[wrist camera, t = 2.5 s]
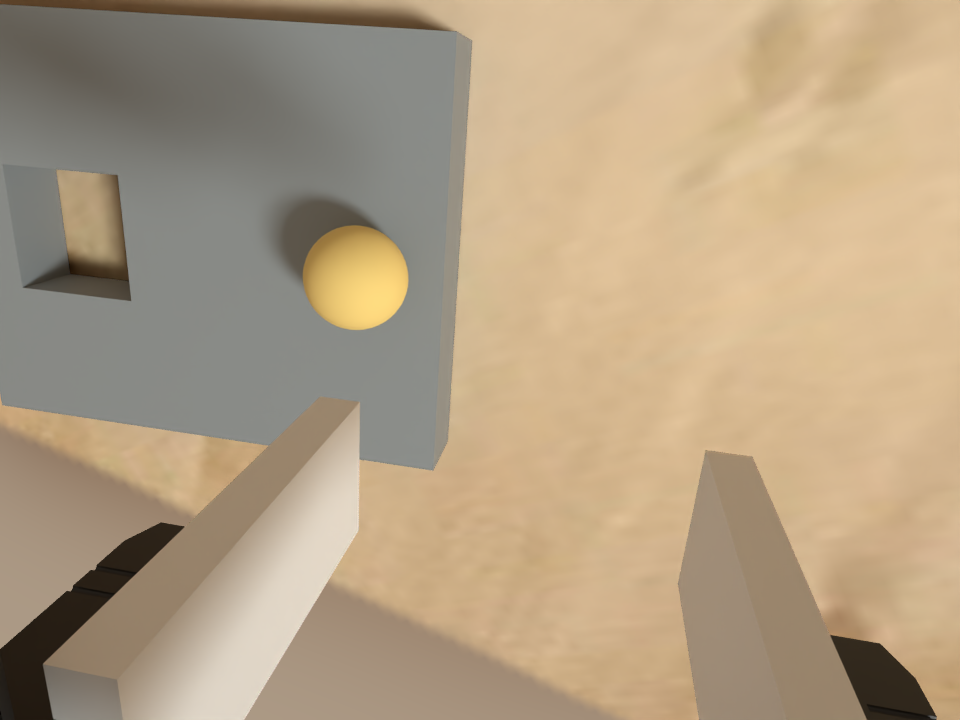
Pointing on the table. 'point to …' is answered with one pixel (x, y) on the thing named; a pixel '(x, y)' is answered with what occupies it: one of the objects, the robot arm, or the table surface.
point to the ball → (355, 277)
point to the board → (230, 220)
